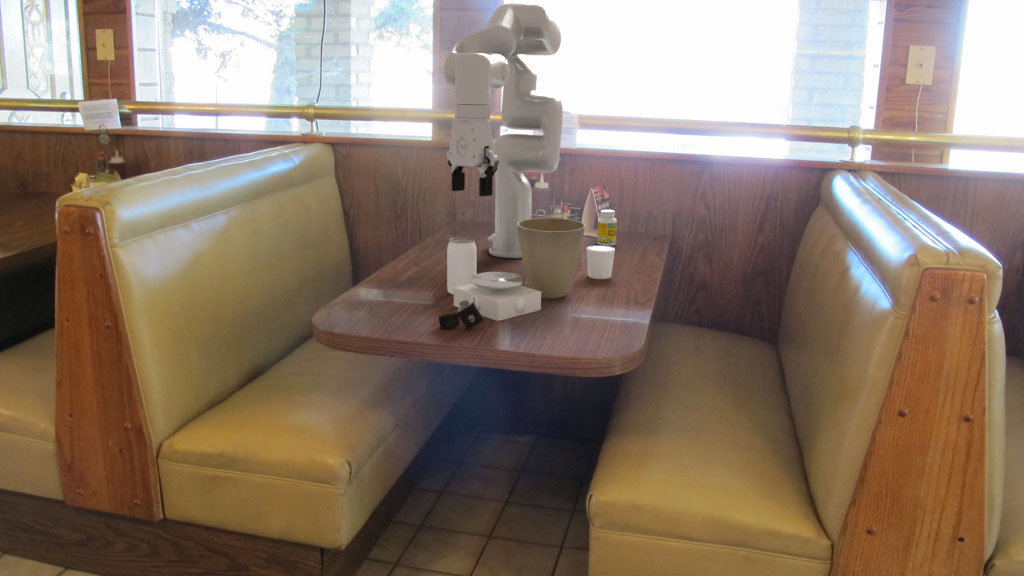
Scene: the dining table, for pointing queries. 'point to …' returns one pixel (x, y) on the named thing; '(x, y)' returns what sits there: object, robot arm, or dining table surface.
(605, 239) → the supplement bottle
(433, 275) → the dining table surface
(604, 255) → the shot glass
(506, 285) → the scale pan
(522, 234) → the plant pot
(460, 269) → the can
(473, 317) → the lighter
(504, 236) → the robot arm
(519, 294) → the scale housing
